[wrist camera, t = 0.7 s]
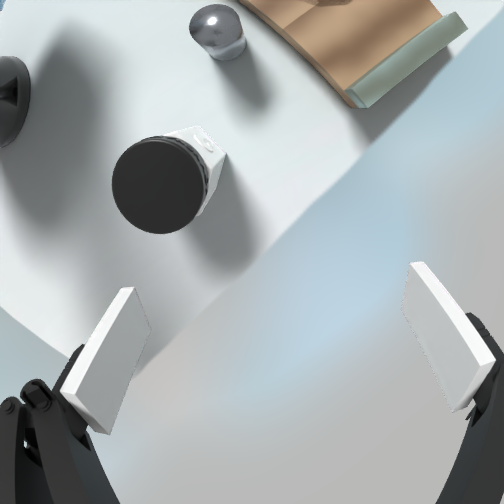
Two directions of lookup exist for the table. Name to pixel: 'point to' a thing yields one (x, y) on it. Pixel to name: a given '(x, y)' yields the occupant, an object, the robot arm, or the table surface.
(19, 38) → the table surface
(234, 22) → the grey metal cylinder
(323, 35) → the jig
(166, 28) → the table surface
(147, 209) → the jar
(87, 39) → the table surface
